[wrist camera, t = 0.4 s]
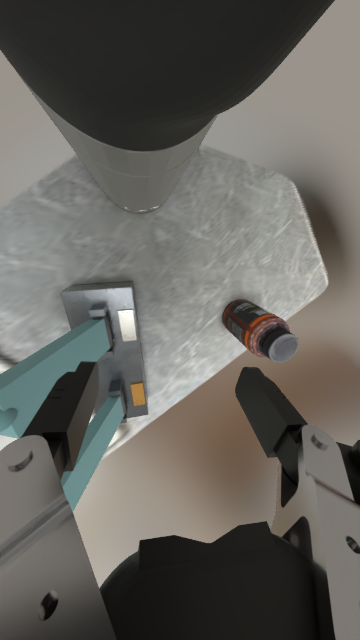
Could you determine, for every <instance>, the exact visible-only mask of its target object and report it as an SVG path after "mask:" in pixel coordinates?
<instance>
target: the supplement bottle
mask: <svg viewBox="0 0 360 640" xmlns="http://www.w3.org/2000/svg"><path fill="white" fill-rule="evenodd" d="M223 322H224V325H225V327H226V328H227V329H228V330H229V331H230V332H231V333H232V334H233V335H234V336H235V337H236V338H237V339H238V340H239V341H240V342H241V343H242V344H243V345H244V346H245V347H246V348H247V349H248V350H250V351H251V352H252V353H253V354H255V355H257V356H259V357H268V358H269V359H270V360H272V361H273V362H276V363H280V362H284V361H287V360H289V359H290V358H291V357H292V356H293V355H294V354H295V353H296V351H297V349H298V345H299V342H298V338H297V337H296V336H295V335H293V334H292V333H290V331H289V327H288V325H287V323H286V322H285V321H284V320H283V319H281V318H279V317H278V316H276V315H274V314H272V313H270V312H268V311H266V310H264V309H262V308H260V307H259V306H257V305H255V304H253V303H251V302H249V301H246V300H238V301H235V302H233V303H231V304H230V305H229V306H228V307H227V309H226V310H225V312H224V315H223Z"/></svg>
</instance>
